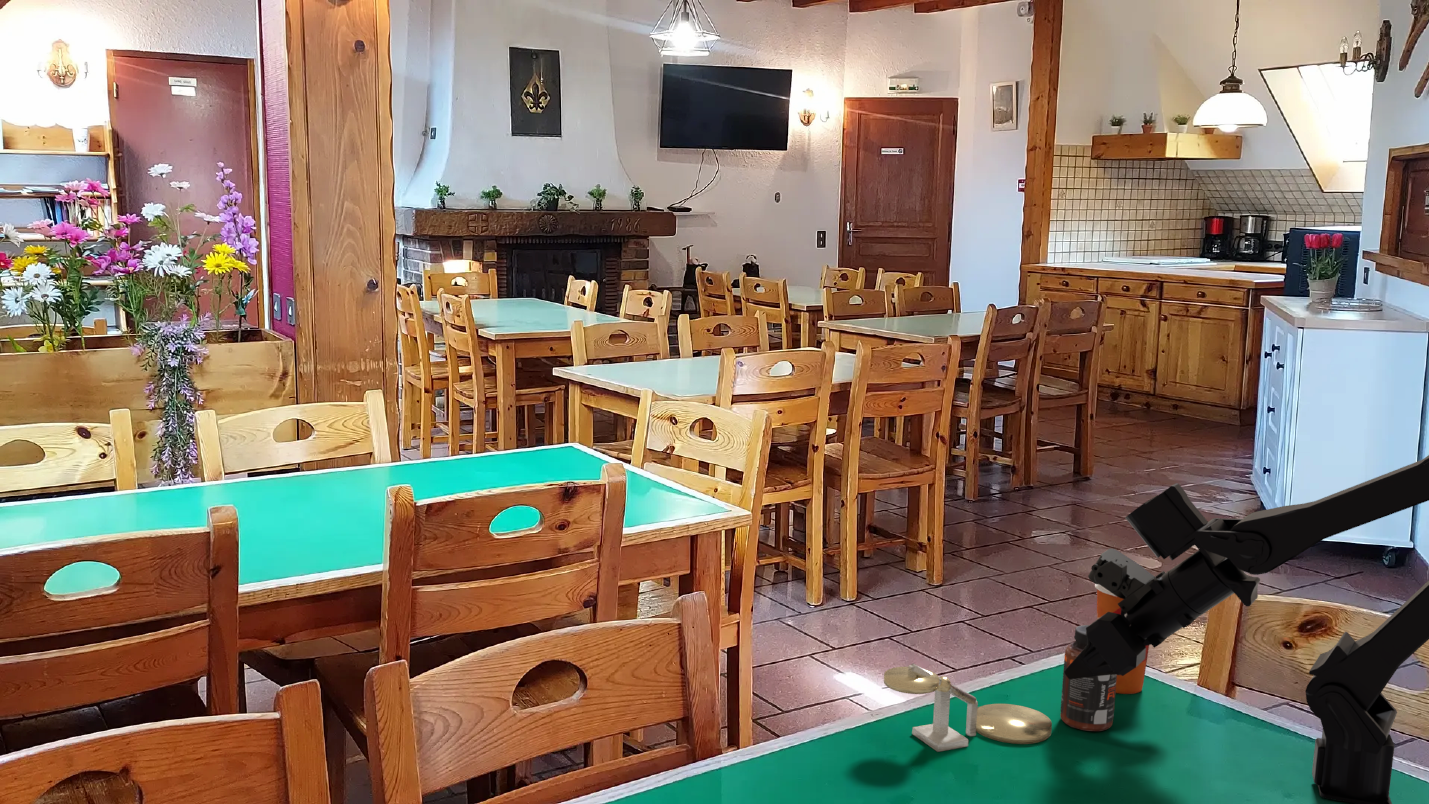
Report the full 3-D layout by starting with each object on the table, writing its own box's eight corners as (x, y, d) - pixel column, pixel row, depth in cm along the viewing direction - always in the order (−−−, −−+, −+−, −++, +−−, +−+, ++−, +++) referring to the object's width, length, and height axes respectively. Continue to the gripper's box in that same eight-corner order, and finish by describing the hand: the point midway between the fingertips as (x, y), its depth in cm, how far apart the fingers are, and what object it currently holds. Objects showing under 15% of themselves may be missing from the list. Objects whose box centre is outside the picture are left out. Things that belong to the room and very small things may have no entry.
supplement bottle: (1115, 736, 139) (1123, 641, 137) (1061, 730, 140) (1068, 636, 139) (1109, 715, 145) (1117, 624, 143) (1057, 710, 146) (1064, 619, 144)
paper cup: (1095, 670, 160) (1103, 566, 158) (1156, 682, 156) (1165, 576, 154) (1080, 689, 153) (1088, 581, 151) (1143, 702, 149) (1152, 592, 147)
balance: (1017, 707, 147) (1022, 632, 145) (1068, 736, 138) (1073, 657, 137) (863, 733, 138) (867, 653, 136) (907, 766, 130) (911, 682, 128)
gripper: (1162, 517, 144) (1063, 588, 152) (1112, 549, 129) (1006, 626, 137) (1226, 595, 141) (1122, 664, 149) (1182, 637, 126) (1069, 711, 134)
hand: (1080, 664), depth 142 cm, fingers open, 9 cm apart
